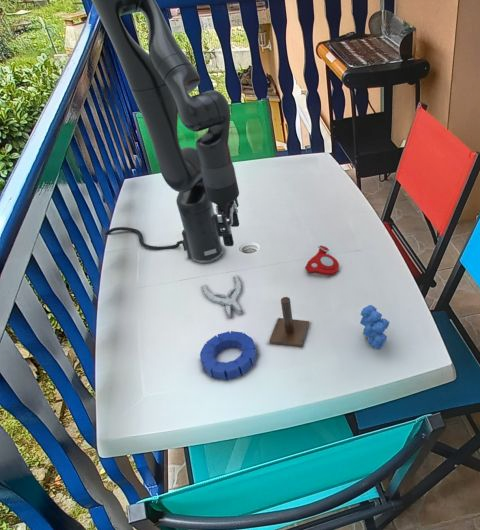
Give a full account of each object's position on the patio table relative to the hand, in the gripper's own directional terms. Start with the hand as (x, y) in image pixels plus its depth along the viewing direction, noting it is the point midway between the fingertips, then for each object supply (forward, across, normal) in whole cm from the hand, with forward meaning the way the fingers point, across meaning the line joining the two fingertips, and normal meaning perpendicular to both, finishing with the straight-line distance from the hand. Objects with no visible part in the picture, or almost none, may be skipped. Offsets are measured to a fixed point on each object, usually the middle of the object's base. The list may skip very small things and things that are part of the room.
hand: (232, 235), depth 126 cm
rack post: (+18, +18, +14) cm, 29 cm away
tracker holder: (+18, -9, +22) cm, 30 cm away
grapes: (+19, +22, +36) cm, 46 cm away
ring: (+18, +25, 0) cm, 31 cm away
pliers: (+18, +4, -4) cm, 19 cm away
